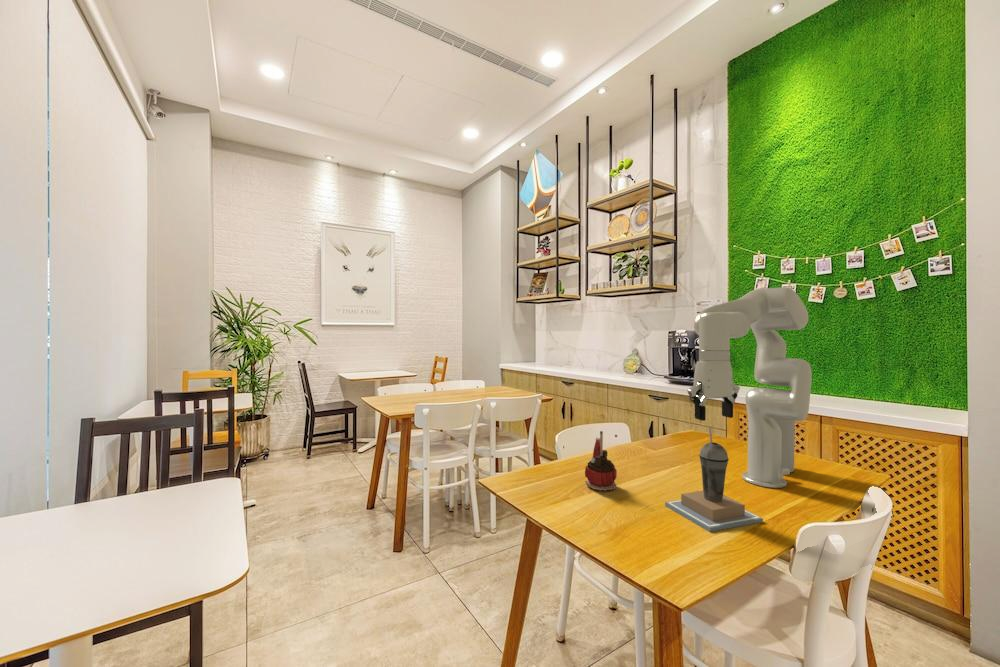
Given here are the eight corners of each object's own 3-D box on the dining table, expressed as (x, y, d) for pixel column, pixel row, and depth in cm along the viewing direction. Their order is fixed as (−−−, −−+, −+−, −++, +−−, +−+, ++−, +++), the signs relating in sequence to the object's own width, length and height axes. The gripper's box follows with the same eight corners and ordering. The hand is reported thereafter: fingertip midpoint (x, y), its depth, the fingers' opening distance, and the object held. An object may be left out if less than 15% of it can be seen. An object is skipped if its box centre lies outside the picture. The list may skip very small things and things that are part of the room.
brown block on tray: (713, 498, 122) (713, 485, 122) (762, 522, 107) (763, 507, 107) (665, 505, 117) (665, 491, 117) (709, 531, 101) (709, 516, 101)
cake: (611, 495, 124) (611, 436, 124) (581, 489, 128) (582, 432, 128) (619, 484, 133) (619, 429, 133) (591, 478, 138) (592, 426, 137)
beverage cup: (733, 504, 108) (734, 430, 108) (706, 504, 108) (707, 430, 108) (719, 493, 116) (720, 424, 115) (693, 493, 116) (694, 423, 116)
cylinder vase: (756, 470, 147) (757, 402, 147) (751, 461, 159) (752, 397, 158) (797, 476, 142) (798, 405, 142) (789, 465, 153) (790, 400, 153)
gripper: (726, 355, 118) (726, 413, 118) (678, 356, 113) (678, 417, 113) (749, 356, 111) (749, 418, 111) (700, 358, 105) (699, 423, 106)
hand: (713, 418), depth 112 cm, fingers open, 9 cm apart
